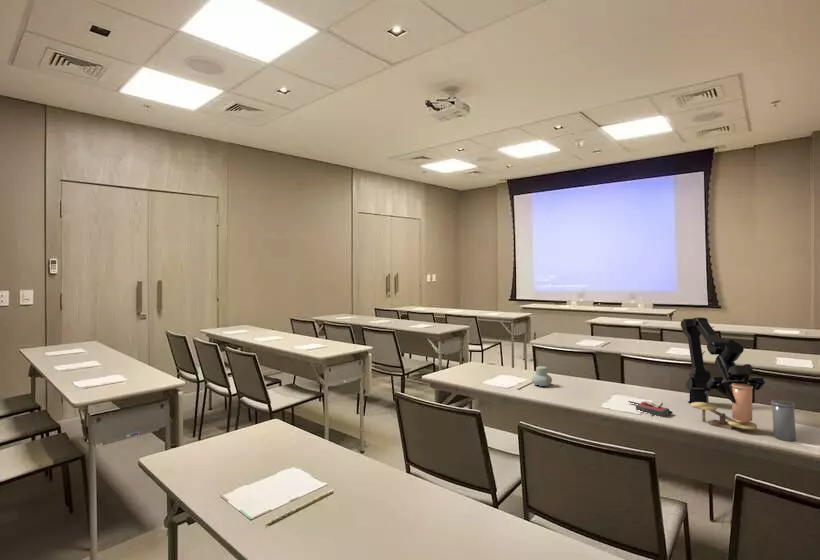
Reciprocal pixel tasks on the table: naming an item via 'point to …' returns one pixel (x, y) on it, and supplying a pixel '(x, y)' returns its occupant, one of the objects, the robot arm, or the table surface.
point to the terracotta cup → (742, 402)
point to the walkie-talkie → (652, 408)
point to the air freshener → (541, 377)
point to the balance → (722, 417)
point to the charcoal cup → (783, 420)
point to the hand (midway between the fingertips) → (744, 402)
